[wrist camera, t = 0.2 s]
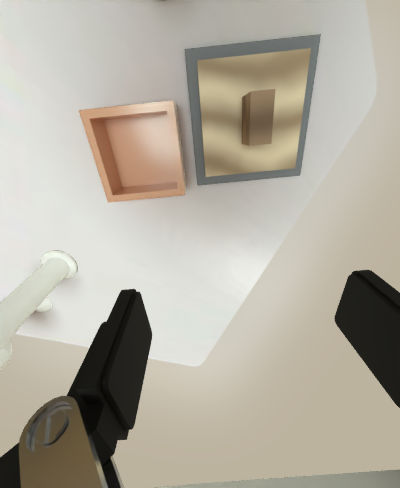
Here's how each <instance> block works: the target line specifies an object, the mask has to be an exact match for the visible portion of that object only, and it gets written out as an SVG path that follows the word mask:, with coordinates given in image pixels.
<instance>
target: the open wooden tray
mask: <svg viewBox="0 0 400 488" xmlns="http://www.w3.org/2000/svg"><path fill="white" fill-rule="evenodd" d="M79 113H80V116H81V119H82V122H83V125H84V128H85V132H86V135H87V138H88V141H89V144H90V147H91V150H92V153H93V157H94V160H95V163H96V166H97V169H98V172H99V175H100V178H101V182H102V185H103V188H104V191H105V194H106V197H107V200H108V202H118V201H128V200H139V199H149V198H159V197H170V196H180V195H185V193H186V178H185V169H184V161H183V153H182V145H181V136H180V128H179V120H178V111H177V105H176V103H175V102H174V100H171V101H161V102H152V103H142V104H133V105H123V106H114V107H104V108H95V109H85V110H79Z"/></svg>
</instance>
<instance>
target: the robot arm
mask: <svg viewBox="0 0 400 488" xmlns="http://www.w3.org/2000/svg"><path fill="white" fill-rule="evenodd" d="M335 322H336V324H337V326H338V327H339V328H340V330H341V331H342V333H343V334H344V335H345V337H346V338H347V339H348V341H349V342H350V343H351V345H352V346H353V347H354V349H355V350H356V351H357V353H358V354H359V356H360V357H361V358H362V359H363V361H364V362H365V363H366V365H367V366H368V368H369V369H370V370H371V371H372V373H373V374H374V376H375V377H376V378H377V380H378V381H379V382H380V384H381V385H382V386H383V388H384V389H385V390H386V392H387V393H388V394H389V396H390V397H391V398H392V400H393V401H394V403H395V404H396V405H397V406H398V407H399V408H400V293H399V292H398V291H397V290H395V289H394V288H393V287H392V286H390V285H389V284H388V283H386V282H385V281H384V280H383V279H381V278H380V277H379V276H378V275H376V274H375V273H374V272H372V271H370V270H361V271H354V272H352V274H351V275H349V277H348V279H347V282H346V285H345V288H344V291H343V294H342V297H341V300H340V303H339V306H338V309H337V312H336V315H335ZM151 340H152V331H151V327H150V324H149V321H148V317H147V314H146V310H145V307H144V304H143V300H142V297H141V294H140V292H136V290H135V289H129V290H122V291H121V292H120V294H119V296H118V298H117V300H116V303H115V305H114V307H113V309H112V311H111V313H110V316H109V318H108V320H107V322H103V323H102V324H101V326H100V328H99V330H98V332H97V334H96V336H95V338H94V340H93V342H92V344H91V346H90V348H89V350H88V353H87V355H86V357H85V359H84V361H83V363H82V365H81V367H80V369H79V371H78V374H77V376H76V377H75V380H74V382H73V384H72V386H71V388H70V390H69V392H68V394H67V396H60V397H57V398H54V399H52V400H51V401H49V402H47V403H46V404H44V405H43V406H42V407H41V408H40V409H38V410H37V411H36V413H35V414H34V415H33V416H32V417H31V418H30V420H29V421H28V423H27V424H26V426H25V427H24V429H23V432H22V434H21V437H20V441H19V443H18V444H16V445H15V446H14V447H13V448H12V449H10V450H9V451H8V452H7V453H5V454H4V455H3V456H2V457H0V488H124V486H123V483H122V481H121V478H120V475H119V472H118V470H117V467H116V464H115V462H114V459H113V456H112V455H113V454H114V452H115V448H116V444H117V440H126V439H127V436H128V432H129V429H133V427H134V424H135V419H136V414H137V410H138V404H139V400H140V394H141V390H142V385H143V380H144V375H145V370H146V365H147V360H148V355H149V350H150V345H151ZM157 488H400V470H388V471H372V472H358V473H343V474H328V475H314V476H299V477H284V478H270V479H256V480H242V481H229V482H215V483H201V484H188V485H178V486H167V487H157Z"/></svg>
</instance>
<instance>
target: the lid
mask: <svg viewBox="0 0 400 488" xmlns="http://www.w3.org/2000/svg"><path fill="white" fill-rule="evenodd" d="M310 52H311V48H308V49H298V50H289V51H280V52H271V53H262V54H252V55H243V56H234V57H225V58H216V59H206V60H197V68H198V81H199V95H200V109H201V122H202V136H203V149H204V163H205V176H206V177H210V176H220V175H231V174H241V173H251V172H261V171H271V170H282V169H292V168H295V166H296V158H297V151H298V143H299V135H300V128H301V120H302V113H303V105H304V98H305V90H306V83H307V75H308V68H309V60H310Z"/></svg>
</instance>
